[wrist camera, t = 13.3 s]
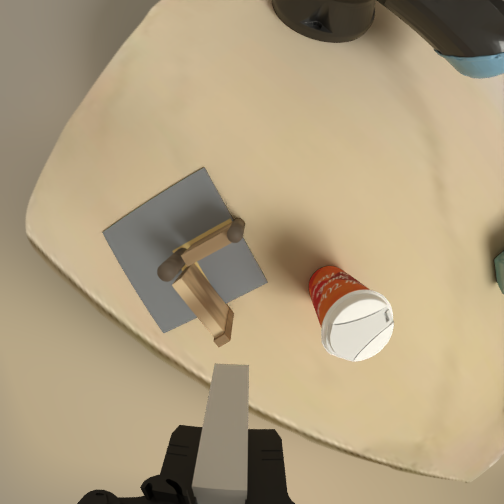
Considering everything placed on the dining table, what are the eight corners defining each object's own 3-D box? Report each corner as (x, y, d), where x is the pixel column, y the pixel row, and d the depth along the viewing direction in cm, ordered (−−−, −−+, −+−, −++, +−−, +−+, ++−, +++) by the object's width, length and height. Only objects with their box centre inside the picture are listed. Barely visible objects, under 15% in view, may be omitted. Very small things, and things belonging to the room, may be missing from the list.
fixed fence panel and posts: (173, 251, 38) (153, 268, 30) (240, 214, 37) (237, 222, 29) (181, 264, 38) (163, 284, 30) (247, 228, 37) (246, 239, 29)
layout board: (103, 232, 37) (102, 232, 37) (204, 167, 36) (204, 167, 35) (164, 332, 41) (163, 333, 40) (267, 281, 39) (267, 282, 38)
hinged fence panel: (184, 268, 38) (169, 287, 30) (194, 261, 38) (180, 279, 30) (224, 319, 39) (218, 347, 32) (233, 313, 39) (230, 340, 32)
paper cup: (339, 247, 38) (383, 278, 24) (362, 292, 39) (406, 338, 26) (289, 277, 39) (308, 323, 25) (315, 320, 40) (341, 378, 26)
